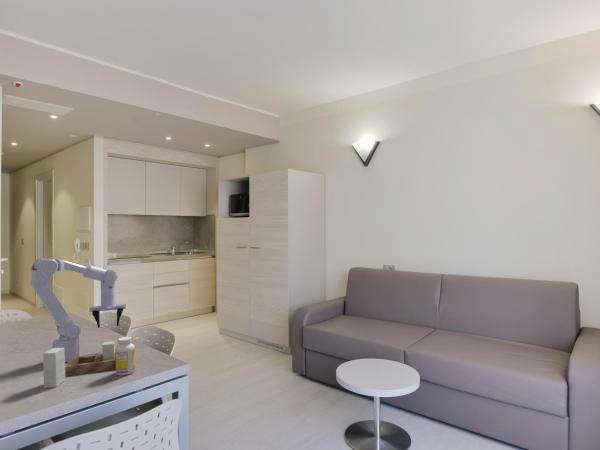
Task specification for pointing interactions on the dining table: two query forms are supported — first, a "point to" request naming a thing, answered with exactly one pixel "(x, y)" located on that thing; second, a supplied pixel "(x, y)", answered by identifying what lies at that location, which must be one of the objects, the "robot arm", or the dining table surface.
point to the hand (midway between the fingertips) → (108, 326)
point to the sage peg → (108, 351)
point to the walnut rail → (88, 364)
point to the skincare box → (54, 367)
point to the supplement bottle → (125, 356)
